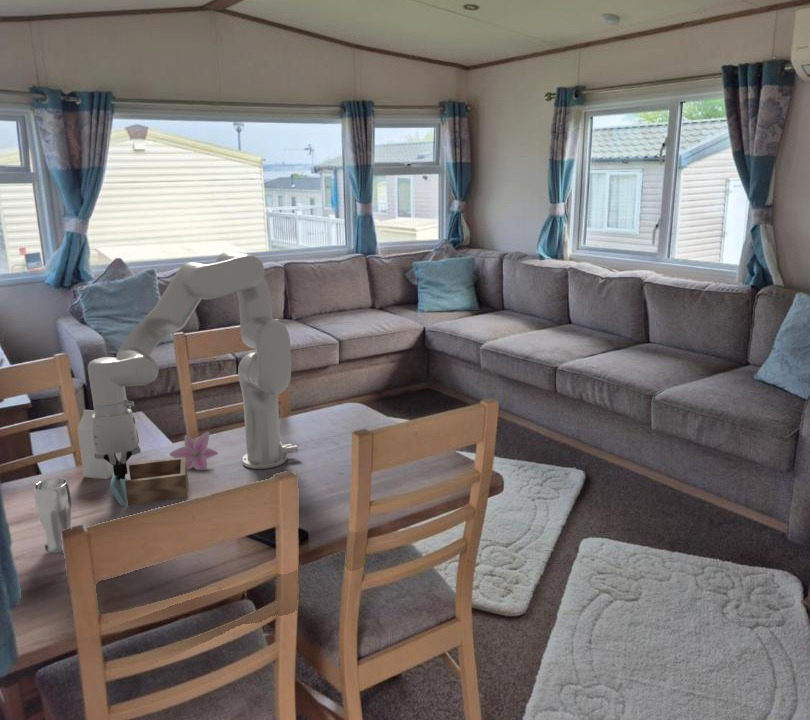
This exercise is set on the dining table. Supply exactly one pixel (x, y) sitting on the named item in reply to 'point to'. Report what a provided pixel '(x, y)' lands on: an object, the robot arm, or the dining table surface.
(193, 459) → the lily
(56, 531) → the beer glass
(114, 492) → the tailgate
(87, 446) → the milk carton
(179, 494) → the box
